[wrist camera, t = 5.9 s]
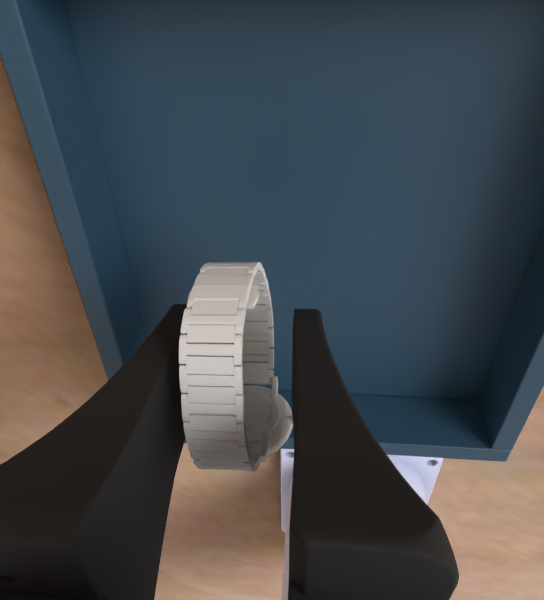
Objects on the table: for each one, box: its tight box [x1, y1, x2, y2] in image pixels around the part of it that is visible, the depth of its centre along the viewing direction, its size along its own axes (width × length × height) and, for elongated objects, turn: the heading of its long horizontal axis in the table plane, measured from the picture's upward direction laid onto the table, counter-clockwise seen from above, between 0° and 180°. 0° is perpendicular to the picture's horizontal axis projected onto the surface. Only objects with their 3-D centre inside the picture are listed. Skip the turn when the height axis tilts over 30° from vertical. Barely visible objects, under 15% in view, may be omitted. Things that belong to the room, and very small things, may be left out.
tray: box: [0, 0, 544, 461], centre depth 17 cm, size 18×16×3 cm
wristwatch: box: [179, 262, 293, 472], centre depth 13 cm, size 3×5×5 cm, turn 6°
